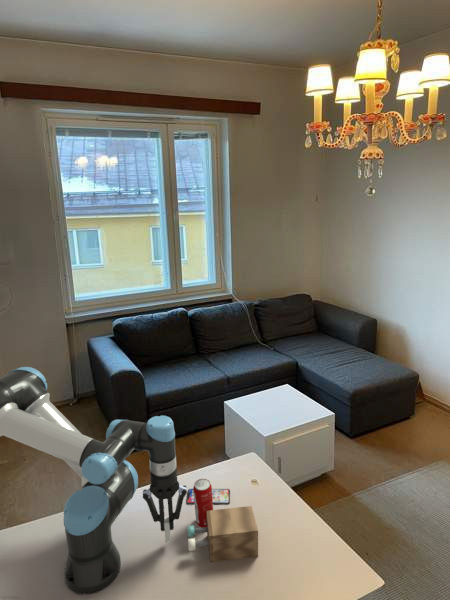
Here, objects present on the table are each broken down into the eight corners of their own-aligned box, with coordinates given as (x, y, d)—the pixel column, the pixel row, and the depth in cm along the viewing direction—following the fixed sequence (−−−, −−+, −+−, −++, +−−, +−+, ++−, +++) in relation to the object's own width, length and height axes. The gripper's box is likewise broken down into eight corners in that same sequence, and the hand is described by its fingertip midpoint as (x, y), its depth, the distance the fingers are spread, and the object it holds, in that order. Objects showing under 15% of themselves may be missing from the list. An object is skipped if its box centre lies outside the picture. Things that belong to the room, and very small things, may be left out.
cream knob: (188, 553, 121) (188, 544, 121) (188, 545, 124) (187, 536, 123) (216, 550, 122) (216, 541, 121) (215, 541, 125) (215, 533, 124)
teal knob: (188, 539, 126) (187, 531, 125) (187, 532, 129) (187, 523, 128) (214, 536, 127) (214, 528, 126) (213, 529, 130) (213, 520, 129)
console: (210, 562, 122) (209, 536, 120) (207, 535, 131) (206, 510, 129) (258, 556, 123) (258, 530, 121) (251, 530, 133) (251, 505, 131)
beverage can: (214, 516, 139) (213, 476, 136) (212, 531, 133) (210, 490, 129) (197, 515, 140) (195, 475, 136) (193, 530, 133) (191, 489, 130)
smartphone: (229, 503, 144) (185, 503, 145) (229, 506, 144) (185, 505, 145) (230, 488, 151) (188, 488, 152) (230, 490, 152) (188, 490, 152)
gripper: (139, 480, 117) (145, 550, 122) (186, 475, 118) (190, 545, 124) (141, 463, 124) (146, 531, 130) (185, 459, 126) (189, 526, 131)
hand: (168, 538), depth 127 cm, fingers closed
